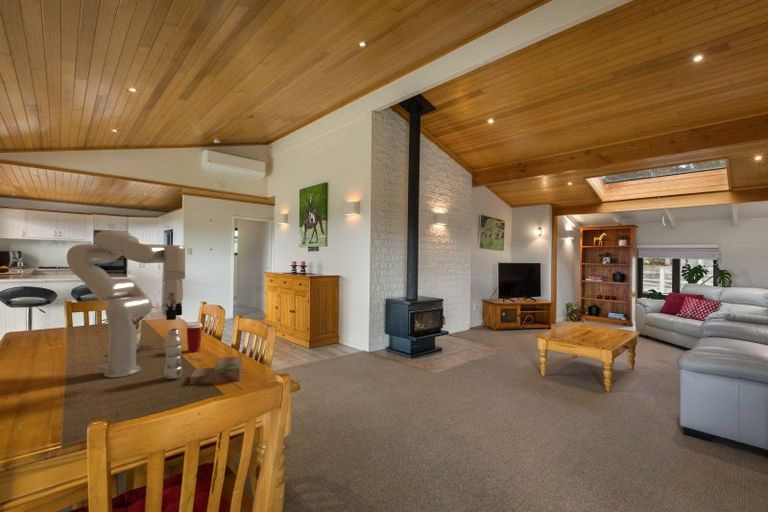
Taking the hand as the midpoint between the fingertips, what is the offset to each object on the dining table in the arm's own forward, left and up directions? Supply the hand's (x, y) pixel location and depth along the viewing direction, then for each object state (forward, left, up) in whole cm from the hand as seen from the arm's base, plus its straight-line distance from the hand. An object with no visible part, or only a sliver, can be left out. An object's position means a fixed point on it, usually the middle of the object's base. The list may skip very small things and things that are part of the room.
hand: (174, 317), depth 147 cm
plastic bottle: (0, 0, -25) cm, 25 cm away
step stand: (+17, -4, -25) cm, 30 cm away
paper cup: (0, +40, -25) cm, 47 cm away
